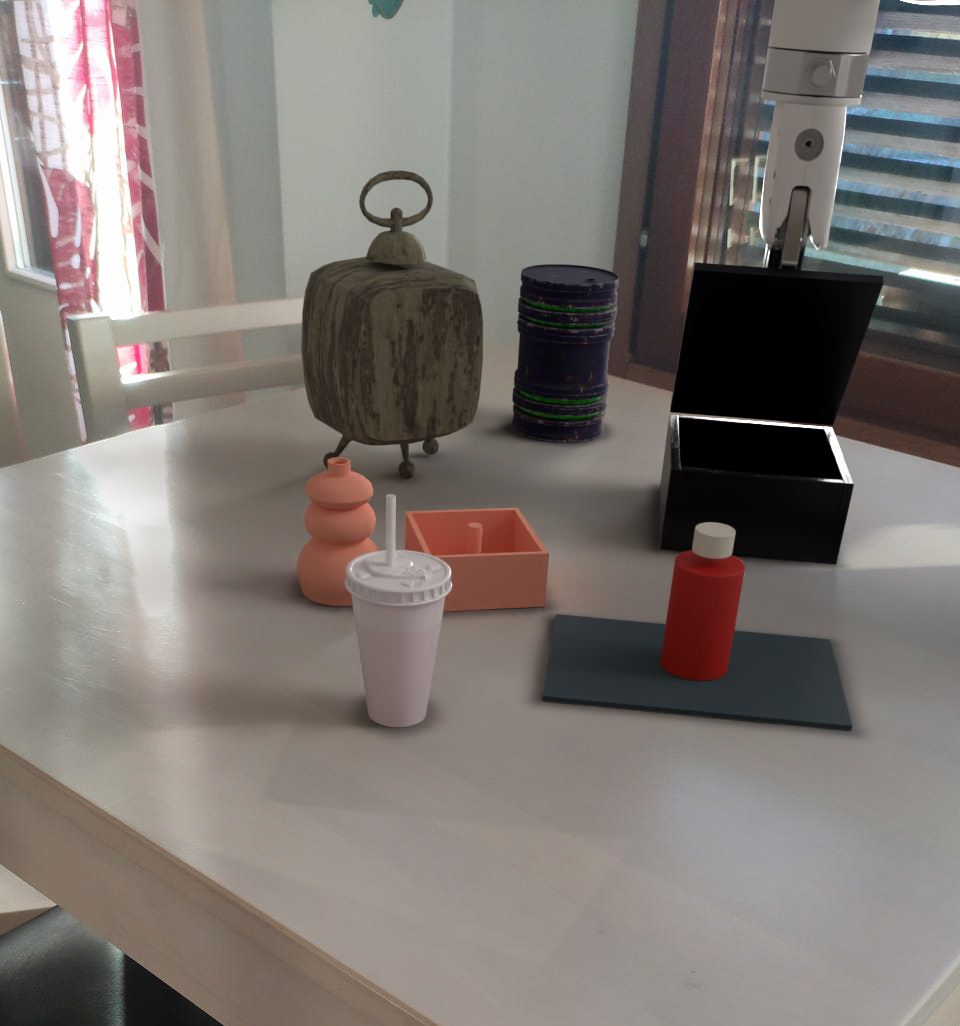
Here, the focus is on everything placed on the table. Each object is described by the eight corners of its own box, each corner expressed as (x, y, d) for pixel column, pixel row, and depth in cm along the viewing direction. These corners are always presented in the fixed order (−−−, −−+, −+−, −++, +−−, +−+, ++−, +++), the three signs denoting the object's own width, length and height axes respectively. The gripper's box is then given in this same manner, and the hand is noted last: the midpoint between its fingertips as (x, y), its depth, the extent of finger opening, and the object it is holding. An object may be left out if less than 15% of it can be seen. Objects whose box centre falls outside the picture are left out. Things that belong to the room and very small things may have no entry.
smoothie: (378, 680, 84) (378, 471, 75) (464, 704, 81) (474, 492, 73) (327, 721, 79) (322, 502, 71) (417, 748, 77) (422, 525, 69)
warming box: (836, 564, 104) (854, 484, 100) (659, 549, 105) (670, 468, 101) (817, 501, 117) (832, 427, 113) (659, 487, 118) (669, 414, 114)
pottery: (514, 558, 102) (522, 436, 96) (544, 606, 95) (555, 477, 89) (291, 567, 98) (286, 440, 93) (304, 618, 91) (299, 484, 85)
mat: (829, 644, 92) (830, 639, 91) (851, 731, 81) (852, 725, 81) (555, 618, 93) (555, 613, 93) (542, 701, 82) (542, 695, 82)
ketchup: (725, 654, 88) (749, 519, 83) (728, 684, 85) (753, 545, 79) (660, 648, 89) (679, 513, 83) (660, 677, 85) (680, 539, 79)
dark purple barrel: (490, 423, 132) (498, 269, 123) (556, 409, 138) (568, 260, 129) (558, 448, 126) (572, 288, 118) (624, 432, 132) (641, 278, 123)
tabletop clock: (437, 448, 124) (445, 162, 110) (487, 475, 118) (502, 176, 104) (305, 467, 118) (295, 165, 103) (350, 498, 112) (346, 182, 97)
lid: (883, 283, 97) (883, 275, 97) (693, 269, 98) (694, 262, 98) (833, 425, 113) (833, 418, 113) (669, 412, 114) (670, 405, 114)
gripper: (877, 89, 89) (824, 360, 99) (852, 76, 101) (807, 319, 111) (770, 82, 89) (728, 353, 100) (757, 70, 101) (722, 312, 112)
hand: (770, 334), depth 106 cm, fingers closed
